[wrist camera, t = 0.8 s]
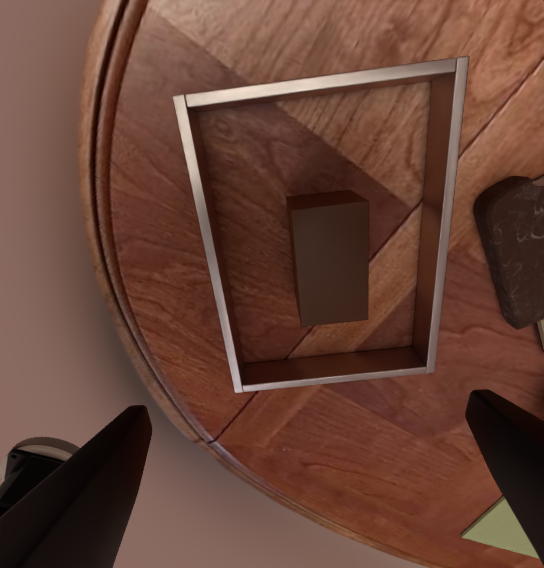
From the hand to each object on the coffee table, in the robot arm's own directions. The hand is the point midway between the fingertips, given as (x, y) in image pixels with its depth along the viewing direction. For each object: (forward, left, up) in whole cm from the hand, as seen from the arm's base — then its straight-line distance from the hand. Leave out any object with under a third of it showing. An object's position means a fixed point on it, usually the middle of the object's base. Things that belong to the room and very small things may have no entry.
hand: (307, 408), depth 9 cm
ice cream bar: (+5, -17, -14) cm, 22 cm away
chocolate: (+1, -2, -14) cm, 14 cm away
